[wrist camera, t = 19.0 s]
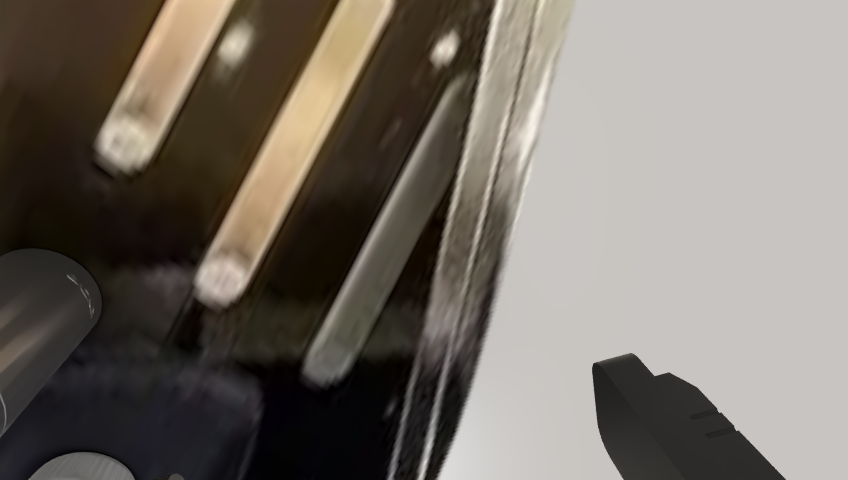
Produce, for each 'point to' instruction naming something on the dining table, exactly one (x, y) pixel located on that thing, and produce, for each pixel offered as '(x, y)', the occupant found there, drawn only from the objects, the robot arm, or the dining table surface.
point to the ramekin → (83, 468)
